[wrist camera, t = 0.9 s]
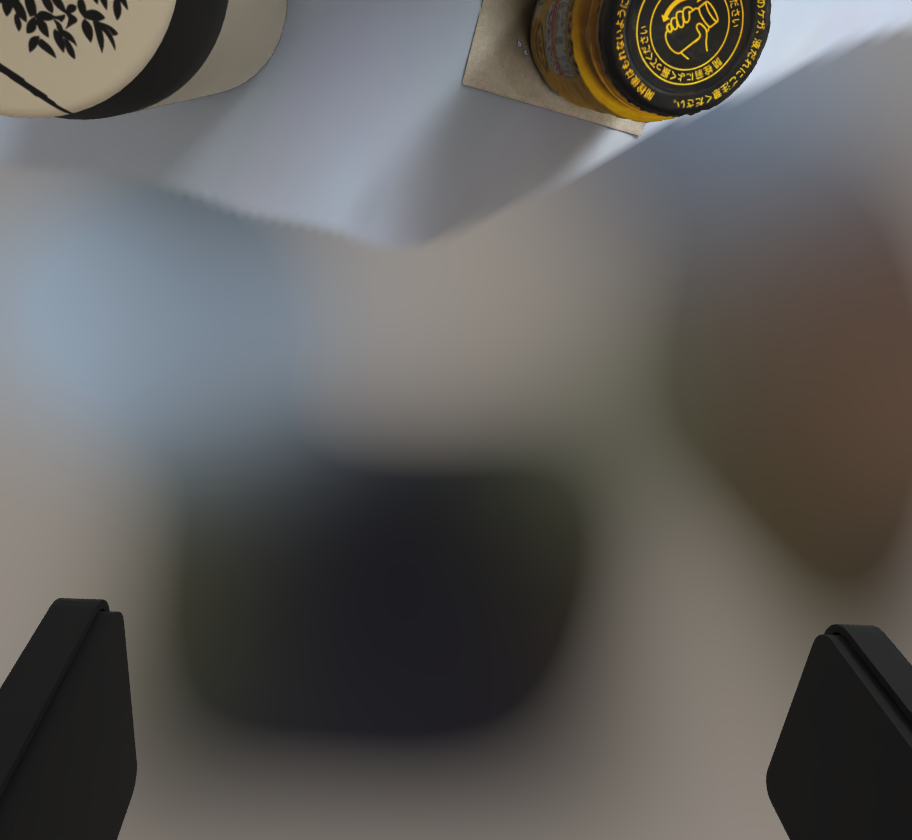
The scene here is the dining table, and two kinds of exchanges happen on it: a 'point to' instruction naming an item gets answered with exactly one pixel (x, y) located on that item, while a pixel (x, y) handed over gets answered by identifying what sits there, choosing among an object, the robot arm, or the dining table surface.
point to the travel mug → (128, 53)
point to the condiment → (617, 55)
